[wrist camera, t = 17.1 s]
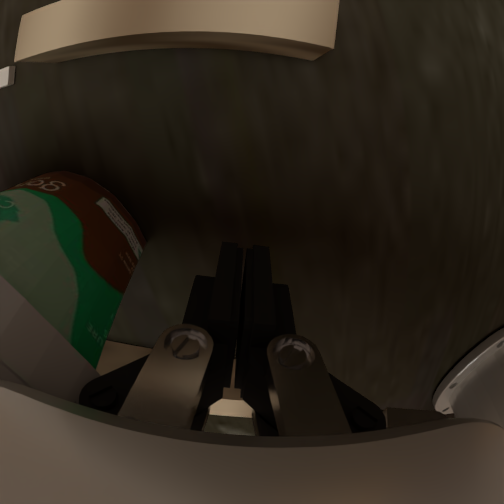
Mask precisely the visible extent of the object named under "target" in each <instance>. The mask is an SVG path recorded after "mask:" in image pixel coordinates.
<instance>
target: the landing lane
mask: <svg viewBox="0 0 504 504" xmlns="http://www.w3.org/2000/svg"><path fill="white" fill-rule="evenodd" d="M14 77H15V66H8V67H6V68H3V69H1V70H0V89H1V88H4V87H7V86H10V85H13V84H14Z"/></svg>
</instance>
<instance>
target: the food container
mask: <svg viewBox="0 0 504 504" xmlns="http://www.w3.org/2000/svg"><path fill="white" fill-rule="evenodd" d="M146 243H147V242H146V240H145V238H144V236H143V234H142V232H141V230H140V228H139V226H138V224H137V222H136V221H135V219H134V218H133V217H132V216H131V215H130V214H129V212H128V211H127V210H126V209H125V207H124V206H123V205H122V204H121V203H120V201H119V200H118V199H117V198H116V196H115V195H113V194H112V193H110V192H109V191H108V190H106V189H105V188H103V187H102V186H101V185H99V184H98V183H96V182H95V181H93V180H92V179H91V178H89V177H85V176H82V175H78V174H75V173H71V172H68V171H56V172H48V173H45V174H42V175H40V176H37V177H35V178H32V179H30V180H28V181H25V182H23V183H20V184H18V185H16V186H14V187H11V188H9V189H7V190H5V191H3V192H0V380H5V381H10V382H13V383H17V384H21V385H24V386H27V387H30V388H33V389H35V390H38V391H41V392H44V393H47V394H50V395H52V396H55V397H58V398H61V399H64V400H67V401H70V402H73V403H74V402H75V401H76V404H79V395H80V392H81V390H82V388H83V387H84V386H85V385H86V384H87V383H88V382H90V381H91V380H93V379H95V378H97V377H100V376H101V375H100V374H99V373H98V372H97V371H96V368H97V365H98V362H99V359H100V356H101V353H102V350H103V348H104V345H105V342H106V339H107V336H108V334H109V331H110V328H111V326H112V323H113V320H114V318H115V315H116V313H117V310H118V308H119V305H120V303H121V300H122V298H123V295H124V293H125V290H126V288H127V286H128V283H129V281H130V279H131V276H132V274H133V272H134V269H135V267H136V265H137V263H138V260H139V258H140V256H141V254H142V252H143V250H144V247H145V245H146Z"/></svg>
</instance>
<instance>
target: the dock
mask: <svg viewBox="0 0 504 504" xmlns="http://www.w3.org/2000/svg"><path fill="white" fill-rule="evenodd" d="M338 8H339V0H61V1H58V2H55V3H53V4H50V5H47V6H44V7H42V8H39V9H37V10H34V11H32V12H30V13H27V14H25V15H23V16H22V19H21V24H20V28H19V34H18V39H17V46H16V52H15V60H14V62H48V63H59V62H63V61H68V60H72V59H77V58H83V57H88V56H94V55H100V54H107V53H115V52H123V51H133V50H145V49H163V48H211V49H230V50H242V51H253V52H261V53H269V54H276V55H283V56H289V57H295V58H301V59H306V60H311V61H313V60H315V59H317V58H318V57H320V56H322V55H323V54H325V53H327V52H329V51H330V50H332V49H334V43H335V35H336V26H337V17H338ZM151 351H152V349H151V348H145V347H139V346H133V345H128V344H123V343H118V342H113V341H108V340H106V342H105V345H104V348H103V350H102V353H101V356H100V359H99V362H98V365H97V368H96V371H97V372H98V373H99V374H100V375H101V376H102V375H104V374H106V373H109V372H111V371H113V370H115V369H118V368H120V367H122V366H124V365H126V364H129V363H131V362H133V361H135V360H137V359H139V358H142V357H144V356H146V355H148V354H150V353H151ZM235 365H236V359H234V363H233V370H232V378H231V385H230V388H223V398H222V399H220V400H219V401H217V402H216V403H214V404H212V405H211V407H210V413H209V414H213V415H223V416H236V417H252V415H251V409H252V408H251V407H250V406H249V405H248V404H247V403H246V402H245V401H243V400H242V399H243V398H240V391H241V389H235V388H234V384H235Z"/></svg>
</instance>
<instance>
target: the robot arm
mask: <svg viewBox="0 0 504 504" xmlns="http://www.w3.org/2000/svg"><path fill="white" fill-rule="evenodd" d="M237 245H238V243H229V242H222V246H221V251H220V256H219V261H218V266H217V272H216V277H209V276H200V275H196V277H195V280H194V283H193V287H192V290H191V294H190V297H189V301H188V305H187V308H186V312H185V315H184V319H183V323H182V324H178V325H175V326H172V327H169V328H168V329H166V330H165V331H164V332H163V333H162V334H161V335H160V337H159V338H158V340H157V342H156V344H155V346H154V347H153V349H152V351H151V353H150V354H148V355H146V356H144V357H142V358H139V359H137V360H135V361H133V362H131V363H129V364H126V365H124V366H122V367H120V368H118V369H115V370H113V371H111V372H109V373H106V374H104V375H102V376H100V377H97V378H95V379H93V380H91V381H90V382H88V383H87V384H86V385H85V386H84V387H83V388H82V390H81V392H80V395H79V404H76V401H75V402H74V403H73V402H70V401H67V400H64V399H61V398H58V397H55V396H52V395H50V394H47V393H44V392H41V391H38V390H35V389H33V388H30V387H27V386H24V385H21V384H17V383H13V382H10V381H5V380H0V504H504V328H502V329H500V330H498V331H497V332H496V333H494V334H493V335H491V336H489V337H488V338H487V339H486V340H484V341H483V342H482V343H480V344H479V345H478V346H477V347H475V348H474V349H473V350H472V351H471V352H470V353H468V354H467V355H466V356H465V357H464V358H463V359H462V360H461V361H460V362H459V363H458V364H457V365H456V366H455V367H454V368H453V369H452V370H451V371H450V372H449V373H448V375H447V376H446V377H445V378H444V379H443V380H442V382H441V383H440V385H439V386H438V388H437V390H436V392H435V394H434V396H433V400H432V401H433V405H434V408H435V410H436V411H435V410H416V409H402V408H391V407H386V409H385V410H381V409H380V408H379V407H378V406H377V405H376V404H374V403H373V402H371V401H370V400H368V399H367V398H365V397H364V396H362V395H361V394H359V393H358V392H356V391H355V390H353V389H352V388H350V387H349V386H347V385H346V384H344V383H343V382H341V381H340V380H338V379H337V378H335V377H334V376H333V375H331V374H330V373H328V371H327V369H326V366H325V364H324V362H323V359H322V357H321V354H320V352H319V350H318V348H317V347H316V345H315V344H314V343H312V342H311V341H310V340H308V339H306V338H305V337H302V336H299V335H296V331H295V324H294V318H293V312H292V306H291V300H290V293H289V288H288V285H284V284H274V283H272V273H271V263H270V253H269V247H265V246H256V245H253V249H247V252H246V259H245V267H244V274H243V282H242V290H241V277H242V261H243V248H237ZM240 294H241V297H240ZM236 340H237V348H236ZM235 348H236V365H235V384H234V388H235V389H241V391H240V398H243V399H242V400H243V401H245V402H246V403H247V404H248V405H249V406H250V407H251V408H252V409H251V415H252V420H253V426H254V431H255V436H246V435H231V434H220V433H210V432H204V429H205V426H206V423H207V419H208V416H209V413H210V407H211V405H212V404H214V403H216V402H217V401H219V400H220V399H222V398H223V388H230V385H231V378H232V370H233V363H234V355H235ZM450 413H454V415H455V417H456V418H449V419H448V418H447V417H446V415H444V414H450Z"/></svg>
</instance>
